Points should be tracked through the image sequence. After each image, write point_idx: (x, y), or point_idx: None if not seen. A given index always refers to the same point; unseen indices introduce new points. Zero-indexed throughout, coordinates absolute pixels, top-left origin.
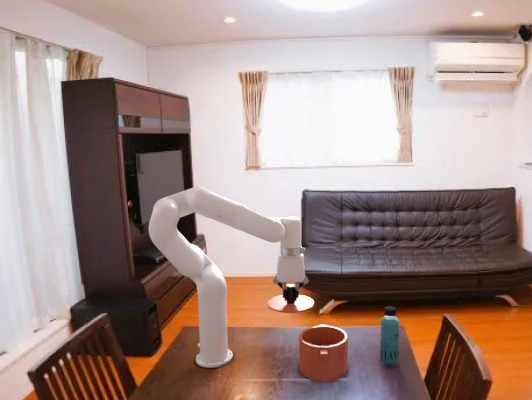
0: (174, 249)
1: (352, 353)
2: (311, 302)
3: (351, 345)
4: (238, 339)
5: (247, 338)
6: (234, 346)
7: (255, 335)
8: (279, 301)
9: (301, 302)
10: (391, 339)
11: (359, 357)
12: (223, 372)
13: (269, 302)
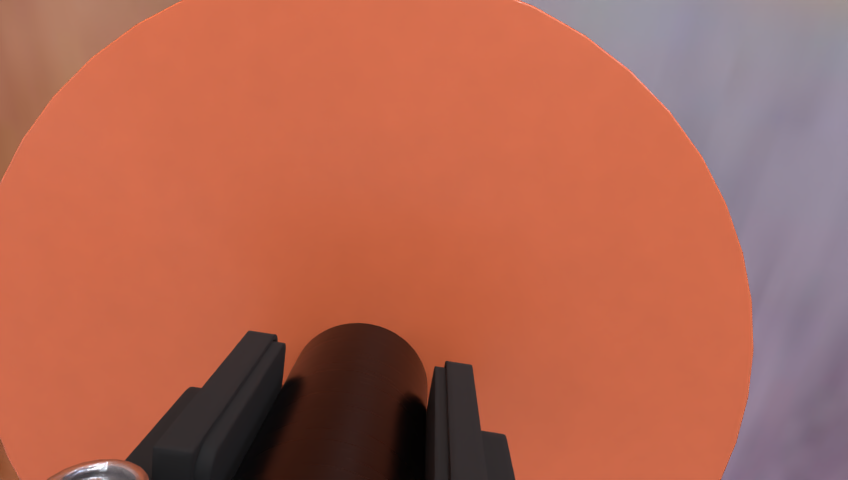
0: None
1: (791, 405)
2: (695, 437)
3: (832, 303)
4: (9, 55)
5: (76, 49)
6: (3, 167)
7: (133, 4)
8: (171, 324)
9: (533, 414)
10: None
11: (813, 457)
12: (8, 464)
13: (7, 343)
